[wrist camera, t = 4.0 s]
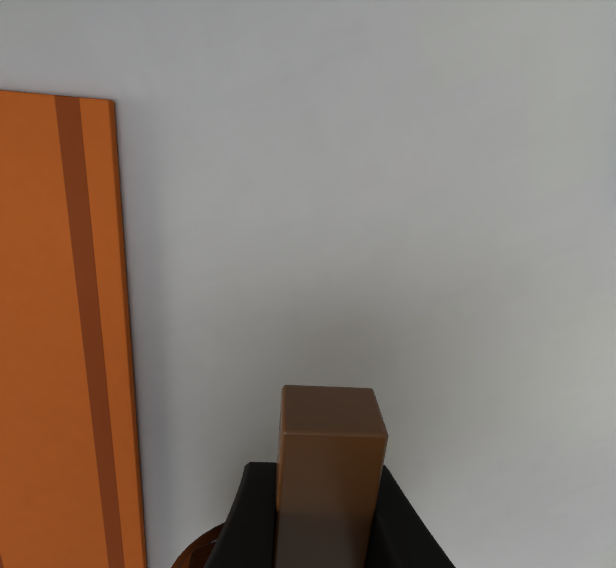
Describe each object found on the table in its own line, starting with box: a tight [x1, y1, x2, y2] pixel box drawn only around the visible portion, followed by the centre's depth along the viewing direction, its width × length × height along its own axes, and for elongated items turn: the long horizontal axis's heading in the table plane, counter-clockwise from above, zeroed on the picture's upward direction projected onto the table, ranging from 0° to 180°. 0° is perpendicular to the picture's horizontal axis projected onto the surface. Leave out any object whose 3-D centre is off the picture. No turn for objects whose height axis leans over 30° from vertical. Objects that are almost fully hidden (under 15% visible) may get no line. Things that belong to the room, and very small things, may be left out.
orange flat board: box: [0, 90, 147, 568], centre depth 15 cm, size 20×7×1 cm, turn 175°
